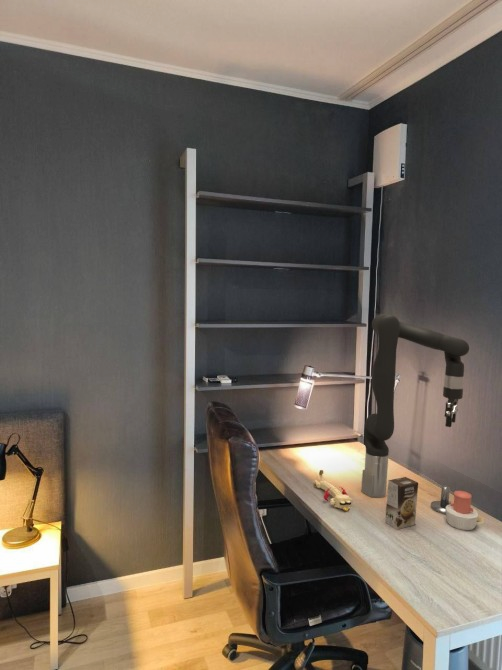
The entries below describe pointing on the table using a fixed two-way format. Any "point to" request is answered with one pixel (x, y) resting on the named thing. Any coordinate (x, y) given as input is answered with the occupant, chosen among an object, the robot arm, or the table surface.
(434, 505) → the grey lamp
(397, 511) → the coffee box
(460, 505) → the cap
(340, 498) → the cream toy dragon
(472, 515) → the ramekin
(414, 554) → the table surface
